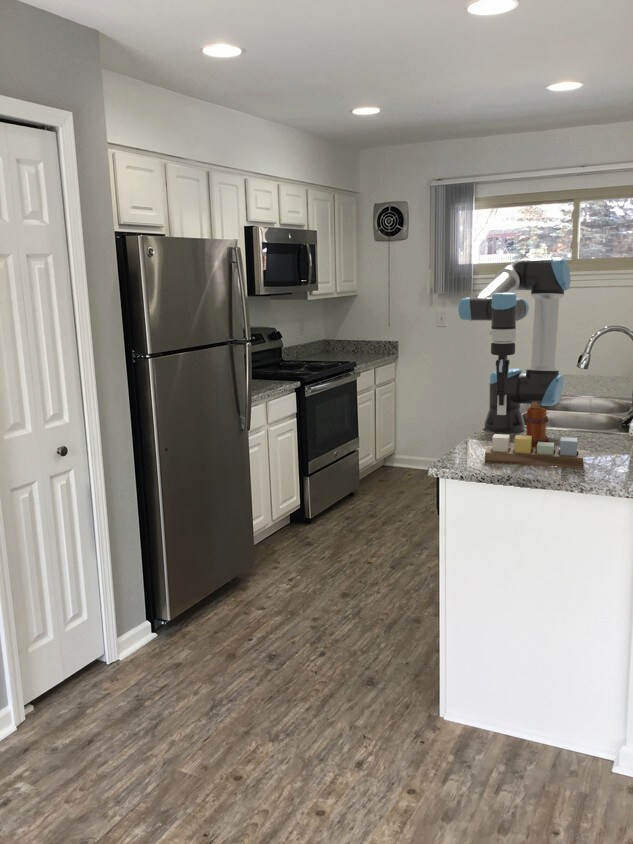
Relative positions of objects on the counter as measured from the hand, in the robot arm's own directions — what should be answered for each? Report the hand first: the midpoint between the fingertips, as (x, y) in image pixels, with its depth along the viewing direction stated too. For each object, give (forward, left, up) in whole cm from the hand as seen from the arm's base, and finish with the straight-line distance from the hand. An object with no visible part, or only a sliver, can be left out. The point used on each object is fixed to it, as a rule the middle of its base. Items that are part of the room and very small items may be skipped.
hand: (501, 414), depth 235 cm
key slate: (0, +21, -12) cm, 24 cm away
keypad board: (0, +11, -15) cm, 19 cm away
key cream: (0, 0, -12) cm, 12 cm away
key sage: (0, +14, -14) cm, 20 cm away
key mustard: (0, +7, -12) cm, 14 cm away
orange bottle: (-20, +10, -16) cm, 27 cm away
